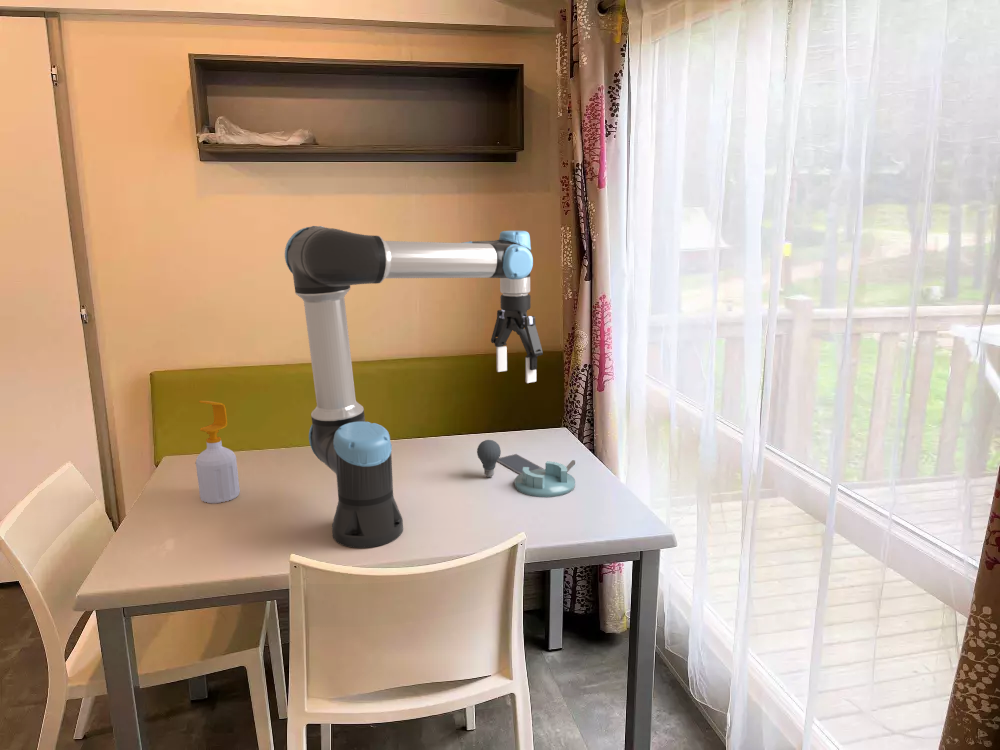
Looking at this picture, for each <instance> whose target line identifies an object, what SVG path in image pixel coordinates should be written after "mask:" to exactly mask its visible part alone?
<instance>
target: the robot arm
mask: <svg viewBox="0 0 1000 750" xmlns="http://www.w3.org/2000/svg"><path fill="white" fill-rule="evenodd" d="M531 251H532V247H531V236H530V233H529V232H528V231H527V230H503V231H500V232H499V237H498V239H495V240H477V241H476V240H475V241H474V240H473V241H472V240H469V241H465V242H464V241H463V242H441V241H437V242H435V241H434V242H433V241H430V242H429V241H406V240H405V241H402V240H401V241H400V240H397V241H396V240H384V239H383V237H381V235H369V234H362V233H356V232H350V231H347V230H342V229H340V228H339V229H338V228H330V227H325V226H323V225H318V226H317V225H312V226H311V225H310V226H306V227H303V228H301V229H298V230H297V231H295V232H294V233H293V234H292V235H291V237H290V238H289V239H288V241H287V242H286V246H285V249H284V259H285V260H284V261H285V263H286V266H287V268H288V270H289V271H290V273H292V280H293V285H294V286H293V287H294V293H295V295H296V296H298V297H299V298H300V299H301V300H302V301H303V304H304V305H303V306H304V314H305V322H306V330H307V331H306V332H307V336H308V337H307V339H308V344H309V353H310V361H311V370H312V375H313V376H312V377H313V384H314V393H315V401H316V406H315V408H314V409H313V410H312V411H311V414H310V415H311V416H310V417H311V418H310V419H311V423H312V424H310V425H311V426H310V428H309V432H308V441H309V442H308V443H309V446H310V448H311V451H312V452H313V454H314V455H315V456H316V458H317V459H318V460H319V461H320V462H321V463H324V465H326V467H328V469H331V471H332V472H333V473H334V474H335V475H336V485H337V487H336V488H337V495H338V496H337V497H338V498H337V499H338V502H337V506H336V510H335V513H334V516H333V521H332V524H331V529H332V530H331V532H332V533H331V534H332V539H333V540H334V541H335V542H336V543H338V544H339V545H342V546H345V547H349V548H357V549H365V548H374V547H380V546H383V545H386V544H388V543H391V542H393V541H395V540H396V539H398V538H399V537H400V536H401V535H402V534H403V532H404V521H403V519H404V518H403V516H402V514H401V511H400V509H399V507H398V504H397V502H396V500H395V497H394V484H393V483H394V482H393V464H392V462H393V461H392V459H393V458H392V449H393V448H392V442H391V435H390V434H389V433H390V432H389V431H388V430H387V428H385V427H384V426H383V425H381V424H378V423H376V422H373V423H372V422H370V421H366V418H365V417H366V416H365V409H364V406H363V405H362V404H360V403H359V402H358V401H357V400H356V399H357V398H356V392H355V391H356V389H355V383H354V373H353V361H352V355H351V353H352V352H351V345H350V337H349V336H350V335H349V330H348V329H349V326H348V319H347V310H346V302H345V301H346V299H345V297H346V296H347V294H348V293H349V291H350V290H351V286H355V285H356V286H357V285H370V284H371V285H372V284H375V285H376V284H377V285H378V284H381V283H382V282H383V281H384V280H385V279H466V278H467V279H468V278H469V279H480V278H481V279H483V278H485V279H486V278H487V279H489V278H490V279H499V285H500V286H499V291H500V293H501V295H500V309H498V310H497V312H496V320H495V324H494V327H493V331H492V335H491V339H490V342H491V343H492V344H494V347H495V348H496V349H495V350H496V351H495V353H496V354H495V355H496V372H497V373H500V372H507V371H508V352H507V350H508V348H507V341H508V339H509V337H510V335H511V334H512V332H515V333H516V335H518V336H519V337H520V338H519V339H520V341H521V343H522V345H523V347H524V350H525V352H526V356H525V383H526V384H529V383H535V382H537V370H538V357H539V356H543V354H544V353H543V348H542V344H541V340H540V337H539V333H538V330H537V325H536V316H535V315H528V311H529V310H530V309H531V305H532V303H531V301H532V299H531V295H530V294H529V293H531V271H532V270H533V265H534V258H533V253H532V252H531Z"/></svg>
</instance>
